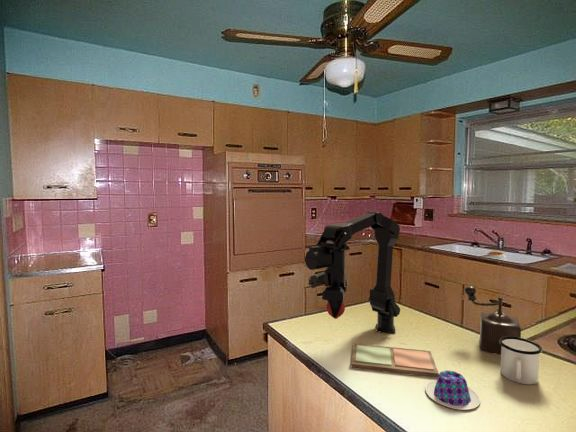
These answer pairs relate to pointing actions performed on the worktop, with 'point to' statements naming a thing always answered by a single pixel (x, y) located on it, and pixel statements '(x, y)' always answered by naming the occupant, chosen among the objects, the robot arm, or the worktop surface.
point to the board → (394, 360)
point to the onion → (338, 312)
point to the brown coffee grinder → (494, 324)
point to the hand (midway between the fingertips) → (335, 313)
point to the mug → (520, 359)
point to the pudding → (452, 391)
